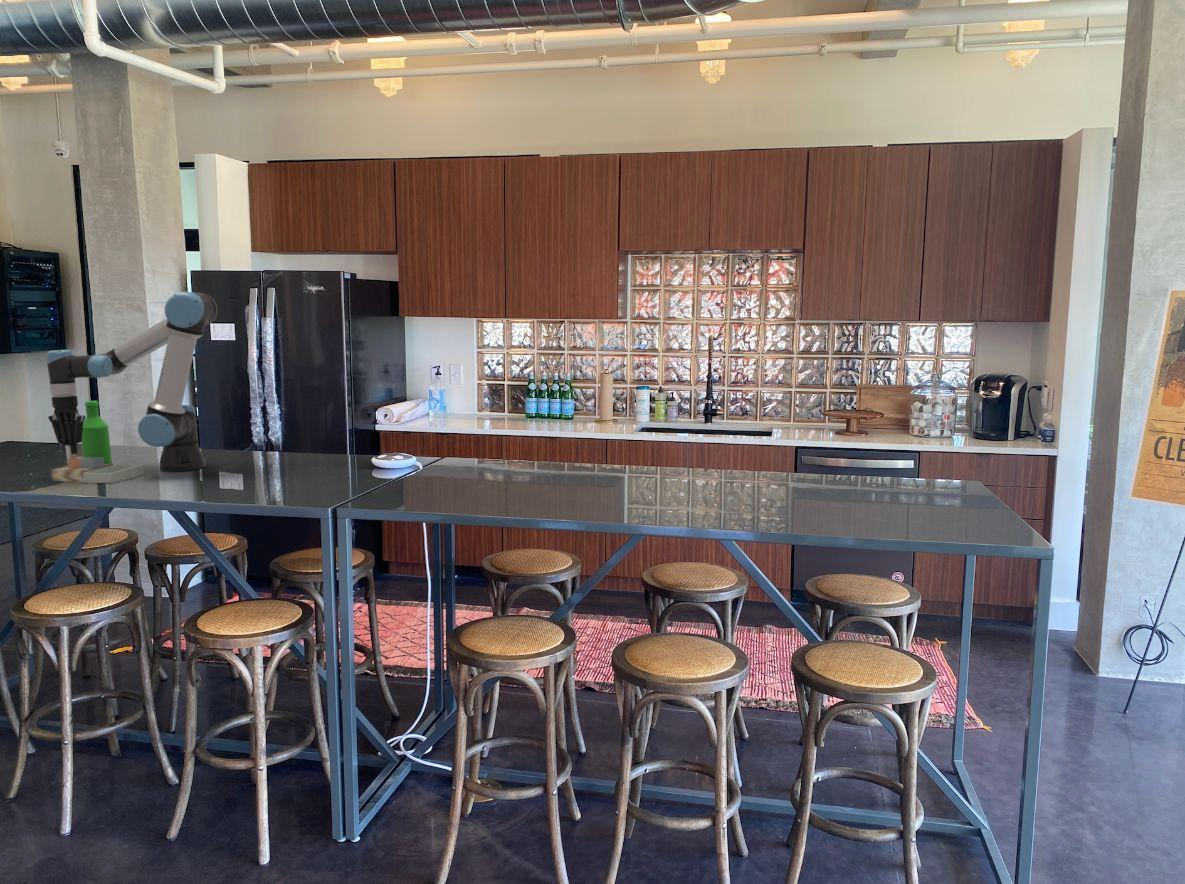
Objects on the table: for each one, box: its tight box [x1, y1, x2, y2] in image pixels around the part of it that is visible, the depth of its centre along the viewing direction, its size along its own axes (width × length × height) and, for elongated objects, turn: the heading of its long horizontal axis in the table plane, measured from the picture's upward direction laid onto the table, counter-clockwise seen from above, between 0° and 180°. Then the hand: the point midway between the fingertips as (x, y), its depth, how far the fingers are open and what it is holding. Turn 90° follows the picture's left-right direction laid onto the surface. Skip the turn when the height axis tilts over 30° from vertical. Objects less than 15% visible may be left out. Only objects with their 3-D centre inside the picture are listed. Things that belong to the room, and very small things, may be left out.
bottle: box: [81, 400, 113, 464], centre depth 312 cm, size 9×9×25 cm
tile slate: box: [80, 457, 105, 468], centre depth 295 cm, size 5×5×3 cm
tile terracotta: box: [67, 456, 89, 468], centre depth 296 cm, size 5×5×3 cm
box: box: [83, 463, 146, 485], centre depth 294 cm, size 10×16×4 cm, turn 169°
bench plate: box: [51, 463, 114, 483], centre depth 297 cm, size 14×12×4 cm
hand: (72, 463), depth 297 cm, fingers closed
